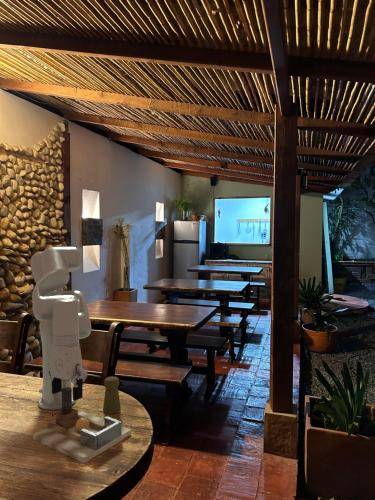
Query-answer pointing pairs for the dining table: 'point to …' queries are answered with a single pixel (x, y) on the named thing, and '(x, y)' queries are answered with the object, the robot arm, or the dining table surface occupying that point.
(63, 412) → the player block
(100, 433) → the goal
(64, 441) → the lane board
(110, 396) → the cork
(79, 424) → the ball
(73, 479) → the dining table surface
